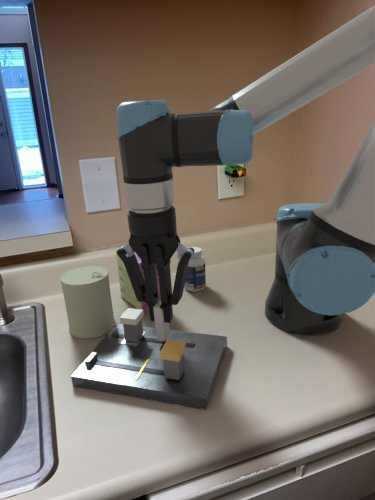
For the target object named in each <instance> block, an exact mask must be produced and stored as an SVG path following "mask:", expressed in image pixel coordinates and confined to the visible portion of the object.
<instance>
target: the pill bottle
mask: <svg viewBox="0 0 375 500" xmlns="http://www.w3.org/2000/svg"><path fill="white" fill-rule="evenodd" d="M190 247H191V248H193V249H194V251H195V252H194V254H193V255H192V257H191V258H190V260H189V264H188V269H187V274H186V279H185V285H184V290H185V291H187V292H192V293H194V292H195V293H197V292H201V291H203V290H204V289H206V286H207V282H206V280H207V279H206V278H207V277H206V274H207V273H206V260H205V257H203V251H202V250H203V249H202V248H201V247H199V246H189V247H188V248H190Z"/></svg>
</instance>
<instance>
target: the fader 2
mask: <svg viewBox="0 0 375 500" xmlns="http://www.w3.org/2000/svg"><path fill="white" fill-rule="evenodd" d="M185 350H186V342H182V341H174V340H167V341H166V343H165V344H164V346H163V348H162V350H161V351H160V359H163V365H164V377H165V378H169V379H175V380H180V378H181V376H182V373H183V371H184V369H185V365H184V352H185Z"/></svg>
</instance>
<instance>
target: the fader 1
mask: <svg viewBox="0 0 375 500" xmlns="http://www.w3.org/2000/svg"><path fill="white" fill-rule="evenodd" d="M144 314H145V313H143V310H141V309H136V308H130V307H129V308H127V309H126V310H125V311H124V312H123V313H122V314H121V316H120V317H119V322H120V323H119V324H123V328H124V336H125V340H127V341H134V342H138V340H139V339H140V337H141V336H142V334H143V327H144V324H143V317H144V316H145V315H144Z"/></svg>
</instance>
